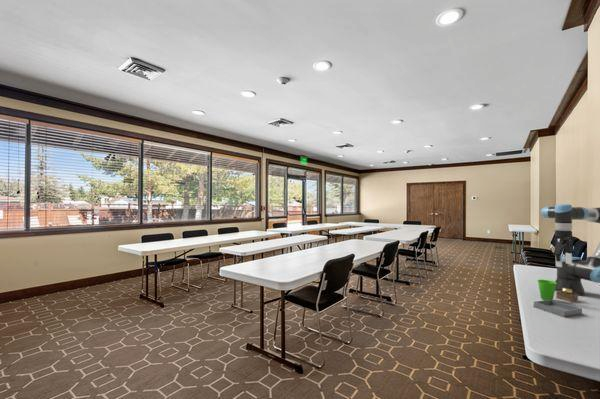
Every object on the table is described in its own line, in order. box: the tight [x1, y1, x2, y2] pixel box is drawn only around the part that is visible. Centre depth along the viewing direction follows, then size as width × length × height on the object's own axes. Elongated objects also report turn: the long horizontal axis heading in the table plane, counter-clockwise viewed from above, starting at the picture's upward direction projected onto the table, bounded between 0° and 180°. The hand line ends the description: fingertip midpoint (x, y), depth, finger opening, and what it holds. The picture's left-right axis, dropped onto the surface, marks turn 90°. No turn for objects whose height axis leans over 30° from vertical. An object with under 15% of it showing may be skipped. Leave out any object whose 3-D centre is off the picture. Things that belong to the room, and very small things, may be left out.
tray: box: [533, 299, 583, 318], centre depth 152 cm, size 14×14×3 cm
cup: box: [537, 279, 557, 301], centre depth 170 cm, size 9×9×11 cm
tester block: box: [555, 291, 579, 303], centre depth 171 cm, size 7×7×4 cm
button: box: [562, 288, 572, 295], centre depth 171 cm, size 4×4×3 cm
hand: (563, 265), depth 169 cm, fingers open, 13 cm apart
